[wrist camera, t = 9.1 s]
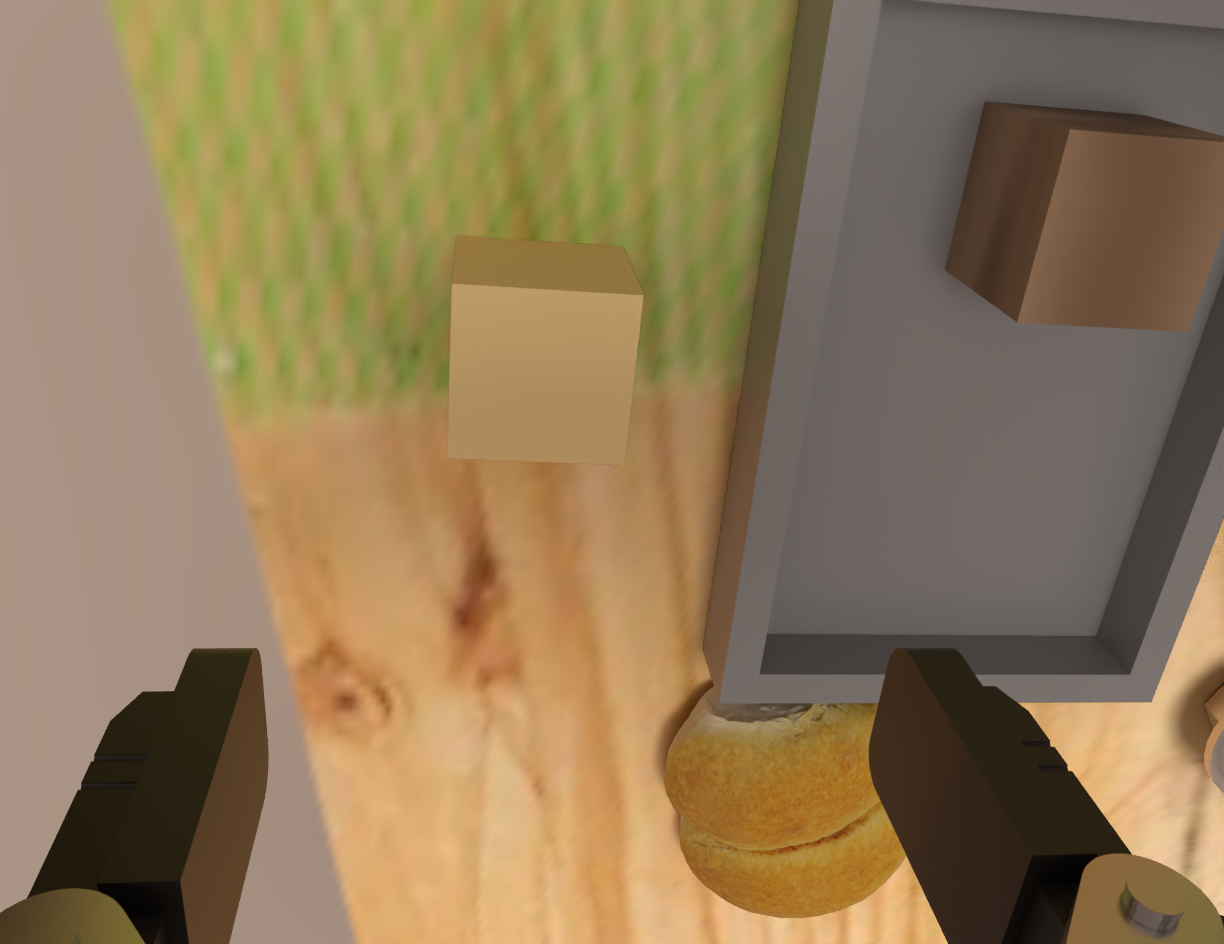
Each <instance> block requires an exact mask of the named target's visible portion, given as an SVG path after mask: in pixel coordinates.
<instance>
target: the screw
mask: <svg viewBox="0 0 1224 944" xmlns="http://www.w3.org/2000/svg"><path fill="white" fill-rule="evenodd" d="M1204 706H1205V708H1206V711H1207V714H1208V716H1209V719H1210V722H1211V724H1212V727H1213V731H1212V733H1211V735H1210V737H1209V739H1208V741H1207V744H1206V749H1205V753H1204V762H1205V768H1206V771H1207V773H1208V776H1209V777H1210V778H1211V780H1212V781H1213V782H1214V783H1215V784H1216V785H1217V787H1218V788H1219V789H1220V790H1221V791H1222V792H1223V793H1224V684H1223V686H1222V687H1221V688H1220V689H1219V690H1218V691H1217V692H1216V693H1215V694H1214V695H1213V696H1212V697H1211V698H1210V699H1209V700H1208V701H1207V702H1206V703H1205V704H1204Z"/></svg>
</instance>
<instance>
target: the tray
mask: <svg viewBox="0 0 1224 944" xmlns="http://www.w3.org/2000/svg"><path fill="white" fill-rule="evenodd" d="M985 101H988V102H1000V103H1011V104H1023V105H1035V106H1047V107H1058V108H1070V109H1082V110H1094V111H1105V112H1117V113H1129V114H1140V115H1147V116H1150V117H1154V118H1158V119H1161V120H1165V121H1169V122H1172V123H1176V124H1180V125H1184V126H1187V127H1191V128H1195V129H1198V130H1202V131H1206V132H1209V133H1213V134H1217V135H1220V136H1224V0H800V3H799V9H798V16H797V23H796V29H795V36H794V43H793V49H792V56H791V63H790V69H789V76H788V83H787V89H786V96H785V103H784V109H783V116H782V123H781V129H780V136H779V143H778V150H777V156H776V163H775V170H774V176H773V183H772V190H771V196H770V203H769V210H768V216H767V223H766V230H765V236H764V243H763V250H762V256H761V263H760V270H759V276H758V283H757V290H756V296H755V303H754V310H753V316H752V323H751V330H750V337H749V343H748V350H747V357H746V363H745V370H744V377H743V383H742V390H741V397H740V403H739V410H738V417H737V423H736V430H735V437H734V443H733V450H732V457H731V463H730V470H729V477H728V483H727V490H726V497H725V503H724V510H723V517H722V523H721V530H720V537H719V544H718V550H717V557H716V564H715V570H714V577H713V584H712V590H711V597H710V604H709V610H708V617H707V624H706V630H705V637H704V644H703V652H704V655H705V659H706V662H707V665H708V668H709V672H710V675H711V678H712V682H713V685H714V688H715V691H716V695H717V698H718V701H719V703H879V699H880V695H881V691H882V686H883V682H884V678H885V674H886V670H887V666H888V662H889V659H890V656H891V654H892V653H893V651H894V650H896V649H897V648H954V649H956V650H957V651H959V652H960V654H961V655H962V656H963V658H964V659H965V661H966V662H967V664H968V665H969V666H970V668H971V669H972V671H973V672H974V674H975V675H976V677H977V678H978V680H979V681H980V682H981V684H982V685H983V686H996V687H997V688H999V689H1000V690H1001V691H1003V692H1004V693H1005V694H1007V695H1008V696H1009V697H1011V698H1012V699H1013V700H1014V701H1016V702H1017V703H1049V702H1152V699H1153V696H1154V694H1155V691H1156V689H1157V686H1158V684H1159V681H1160V679H1161V676H1162V674H1163V671H1164V669H1165V666H1166V663H1167V661H1168V658H1169V656H1170V653H1171V651H1172V648H1173V646H1174V643H1175V641H1176V638H1177V636H1178V633H1179V630H1180V628H1181V625H1182V623H1183V620H1184V618H1185V615H1186V613H1187V610H1188V608H1189V605H1190V603H1191V600H1192V597H1193V595H1194V592H1195V590H1196V587H1197V585H1198V582H1199V580H1200V577H1201V575H1202V572H1203V570H1204V567H1205V564H1206V562H1207V559H1208V557H1209V554H1210V552H1211V549H1212V547H1213V544H1214V542H1215V539H1216V537H1217V534H1218V532H1219V529H1220V526H1221V524H1222V521H1223V519H1224V231H1223V233H1222V236H1221V239H1220V242H1219V245H1218V248H1217V251H1216V253H1215V256H1214V259H1213V262H1212V265H1211V268H1210V270H1209V273H1208V276H1207V279H1206V282H1205V285H1204V288H1203V290H1202V293H1201V296H1200V299H1199V302H1198V305H1197V307H1196V310H1195V313H1194V316H1193V319H1192V322H1191V324H1190V327H1189V330H1188V332H1178V331H1160V330H1142V329H1123V328H1105V327H1087V326H1069V325H1051V324H1033V323H1017V322H1016V321H1014V320H1013V319H1011V318H1010V317H1009V316H1007V315H1006V314H1005V313H1003V312H1002V311H1000V310H999V309H998V308H996V307H995V306H994V305H992V304H991V303H989V302H988V301H987V300H985V299H984V298H983V297H981V296H980V295H978V294H977V293H976V292H974V291H973V290H972V289H970V288H969V287H967V286H966V285H965V284H963V283H962V282H961V281H959V280H958V279H956V278H955V277H954V276H952V275H951V274H950V273H948V272H947V271H945V267H946V263H947V259H948V255H949V250H950V246H951V242H952V238H953V233H954V229H955V225H956V221H957V217H958V212H959V208H960V204H961V200H962V195H963V191H964V187H965V183H966V179H967V174H968V170H969V166H970V162H971V157H972V153H973V149H974V145H975V141H976V136H977V132H978V128H979V124H980V119H981V115H982V111H983V107H984V102H985Z"/></svg>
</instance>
